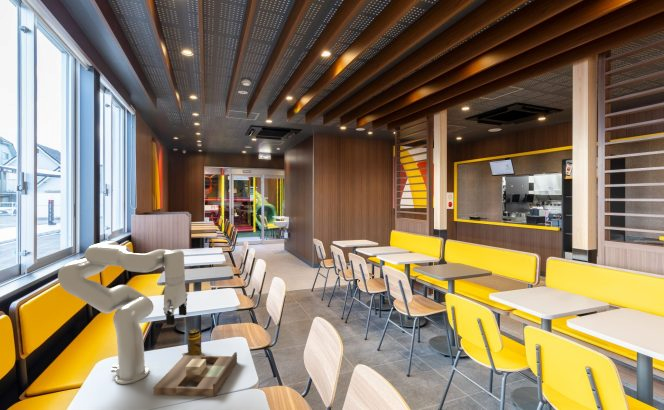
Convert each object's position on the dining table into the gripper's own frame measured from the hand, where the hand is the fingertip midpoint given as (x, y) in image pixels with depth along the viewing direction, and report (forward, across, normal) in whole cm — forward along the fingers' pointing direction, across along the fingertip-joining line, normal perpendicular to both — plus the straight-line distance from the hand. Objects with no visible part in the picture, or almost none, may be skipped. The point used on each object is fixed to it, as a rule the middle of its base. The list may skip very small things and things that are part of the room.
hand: (176, 319), depth 140 cm
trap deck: (+25, 0, +8) cm, 27 cm away
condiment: (+26, -18, -3) cm, 32 cm away
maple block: (+22, 0, +8) cm, 24 cm away
